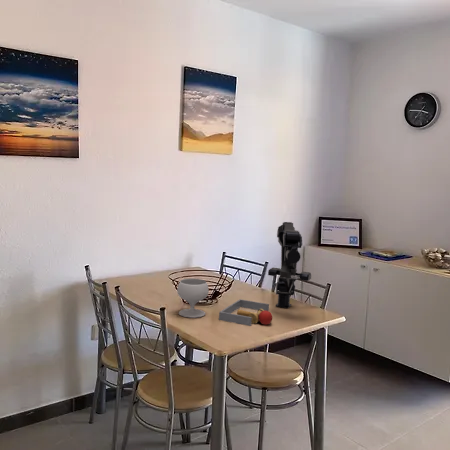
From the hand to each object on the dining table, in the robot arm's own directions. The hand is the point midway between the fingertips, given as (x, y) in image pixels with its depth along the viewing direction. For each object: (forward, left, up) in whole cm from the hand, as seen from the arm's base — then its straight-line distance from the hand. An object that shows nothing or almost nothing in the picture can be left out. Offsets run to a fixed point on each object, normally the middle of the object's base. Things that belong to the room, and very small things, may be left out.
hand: (288, 292), depth 210 cm
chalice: (+21, -38, -11) cm, 45 cm away
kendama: (+14, -11, -11) cm, 21 cm away
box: (+10, -16, -11) cm, 22 cm away
